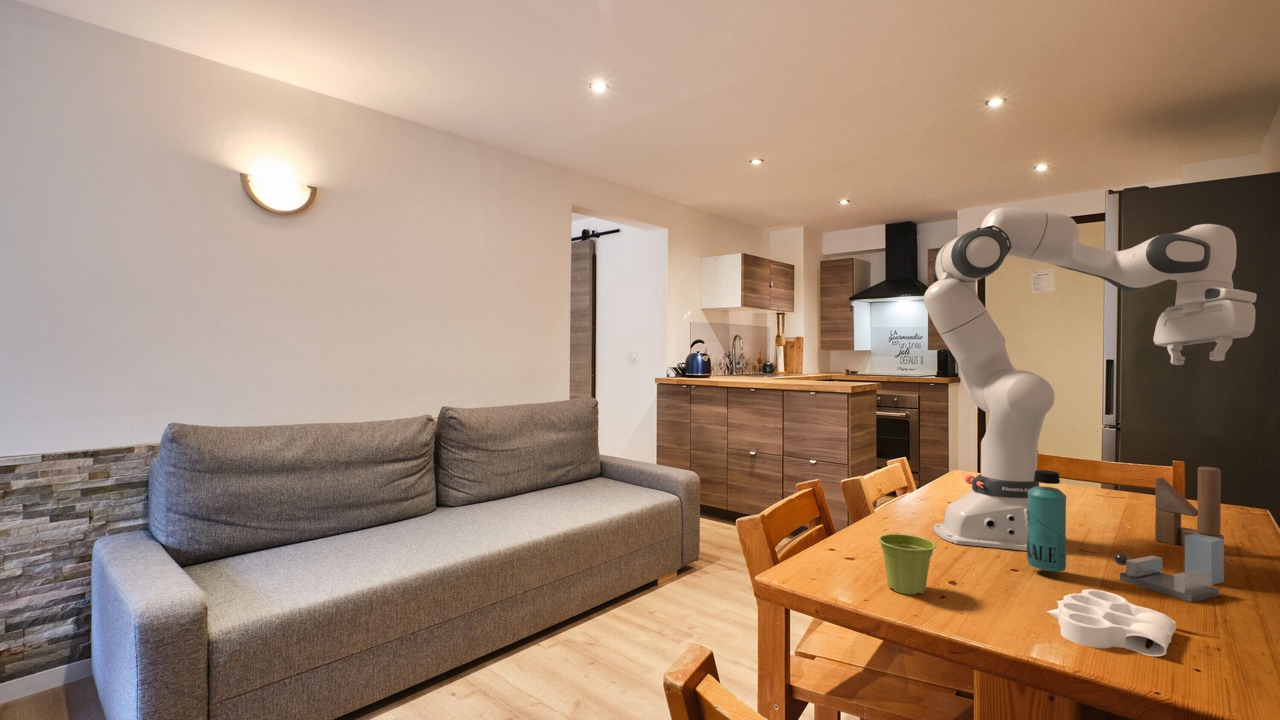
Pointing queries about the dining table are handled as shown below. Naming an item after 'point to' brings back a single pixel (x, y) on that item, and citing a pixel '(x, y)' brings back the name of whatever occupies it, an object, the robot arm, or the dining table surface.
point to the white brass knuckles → (1112, 623)
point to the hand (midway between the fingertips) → (1196, 362)
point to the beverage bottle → (1046, 524)
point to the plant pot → (906, 562)
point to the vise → (1178, 584)
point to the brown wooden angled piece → (1188, 508)
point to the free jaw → (1140, 565)
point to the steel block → (1205, 555)
